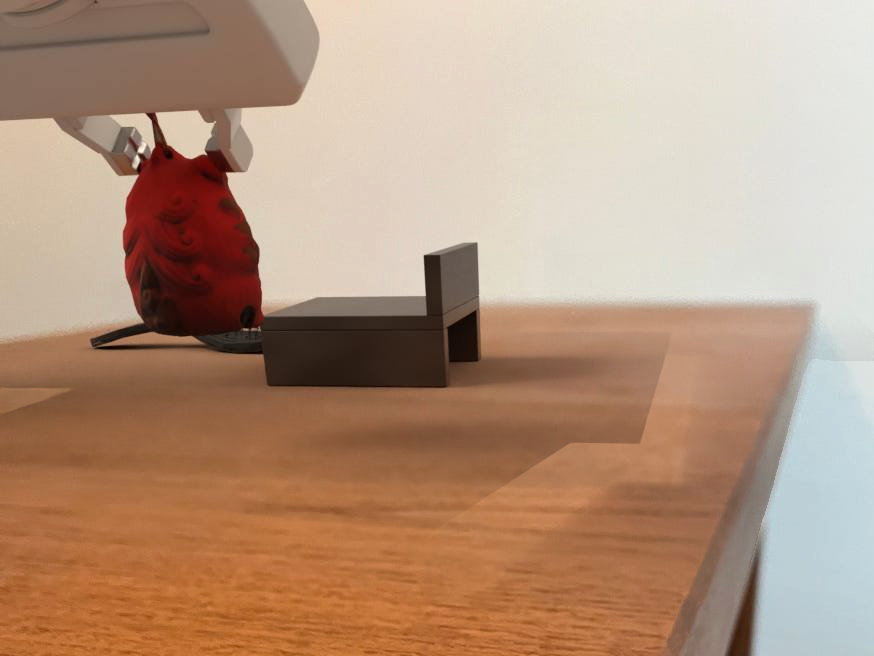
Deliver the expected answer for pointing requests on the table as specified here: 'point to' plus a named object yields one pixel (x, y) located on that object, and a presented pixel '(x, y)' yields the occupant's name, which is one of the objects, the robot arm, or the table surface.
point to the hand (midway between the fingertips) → (186, 165)
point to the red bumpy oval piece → (189, 248)
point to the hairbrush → (224, 342)
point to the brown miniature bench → (381, 332)
